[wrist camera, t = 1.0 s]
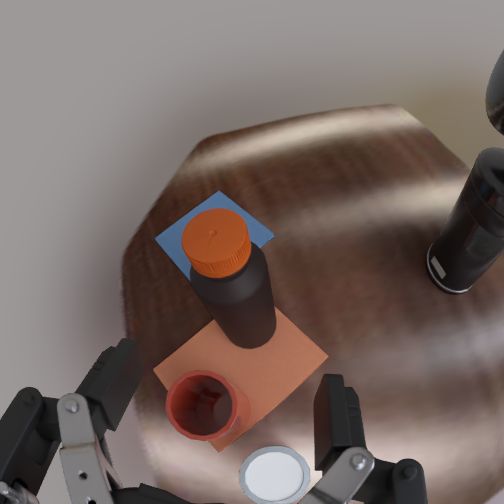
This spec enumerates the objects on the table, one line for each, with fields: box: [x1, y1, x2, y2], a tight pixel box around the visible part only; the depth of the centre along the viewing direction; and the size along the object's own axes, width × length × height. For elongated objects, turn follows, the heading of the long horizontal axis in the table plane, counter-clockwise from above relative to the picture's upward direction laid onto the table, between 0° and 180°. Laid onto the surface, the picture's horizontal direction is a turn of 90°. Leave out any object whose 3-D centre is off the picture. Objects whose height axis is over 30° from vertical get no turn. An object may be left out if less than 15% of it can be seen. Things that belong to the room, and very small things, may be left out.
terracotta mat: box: [153, 306, 328, 452], centre depth 35 cm, size 18×14×1 cm
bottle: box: [181, 208, 277, 349], centre depth 29 cm, size 7×7×20 cm
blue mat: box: [155, 191, 275, 281], centre depth 46 cm, size 14×14×1 cm
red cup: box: [166, 370, 251, 441], centre depth 28 cm, size 7×7×9 cm
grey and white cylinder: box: [239, 446, 310, 504], centre depth 25 cm, size 7×7×7 cm
